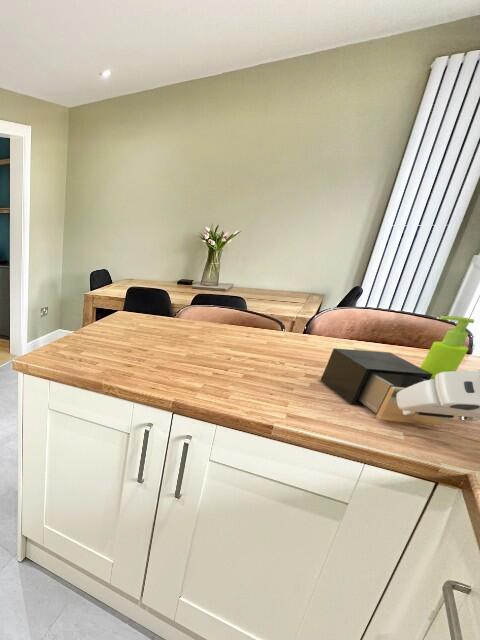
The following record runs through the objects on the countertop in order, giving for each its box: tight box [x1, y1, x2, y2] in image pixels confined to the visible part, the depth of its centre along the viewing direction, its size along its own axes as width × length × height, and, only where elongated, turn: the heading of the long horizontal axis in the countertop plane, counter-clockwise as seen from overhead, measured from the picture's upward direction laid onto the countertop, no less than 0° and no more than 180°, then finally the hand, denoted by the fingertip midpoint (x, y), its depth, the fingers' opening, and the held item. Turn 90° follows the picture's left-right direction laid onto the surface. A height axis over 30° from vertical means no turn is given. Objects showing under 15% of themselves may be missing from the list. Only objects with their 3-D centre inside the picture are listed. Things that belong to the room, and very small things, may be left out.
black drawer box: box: [320, 347, 433, 407], centre depth 101 cm, size 15×13×10 cm
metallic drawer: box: [357, 372, 455, 427], centre depth 90 cm, size 18×11×8 cm, turn 165°
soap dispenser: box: [419, 315, 475, 380], centre depth 100 cm, size 6×7×20 cm
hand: (434, 414), depth 83 cm, fingers open, 8 cm apart
